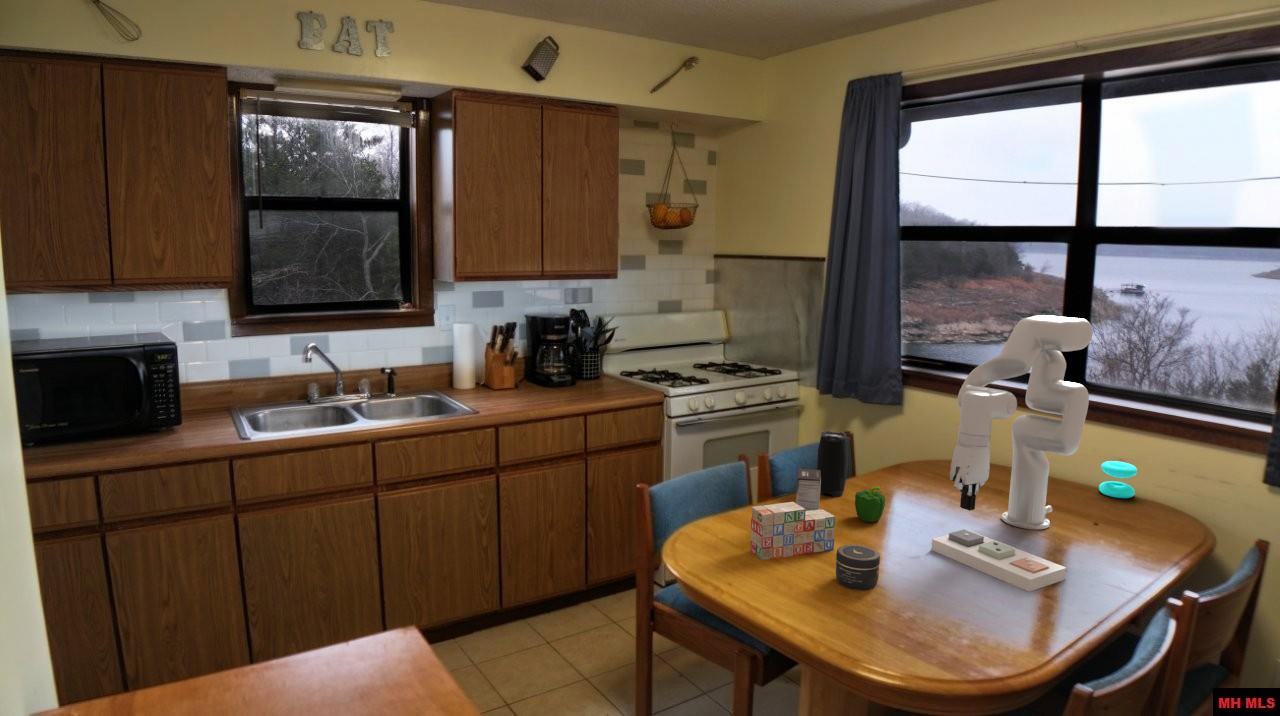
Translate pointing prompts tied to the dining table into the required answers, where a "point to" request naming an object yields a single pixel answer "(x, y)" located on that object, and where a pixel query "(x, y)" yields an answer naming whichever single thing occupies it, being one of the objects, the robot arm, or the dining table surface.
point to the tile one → (966, 538)
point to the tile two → (996, 550)
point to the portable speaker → (833, 462)
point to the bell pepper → (869, 504)
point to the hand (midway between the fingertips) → (967, 508)
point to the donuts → (1116, 487)
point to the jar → (857, 567)
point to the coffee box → (808, 489)
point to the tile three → (1029, 565)
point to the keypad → (1001, 564)
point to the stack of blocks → (790, 530)
